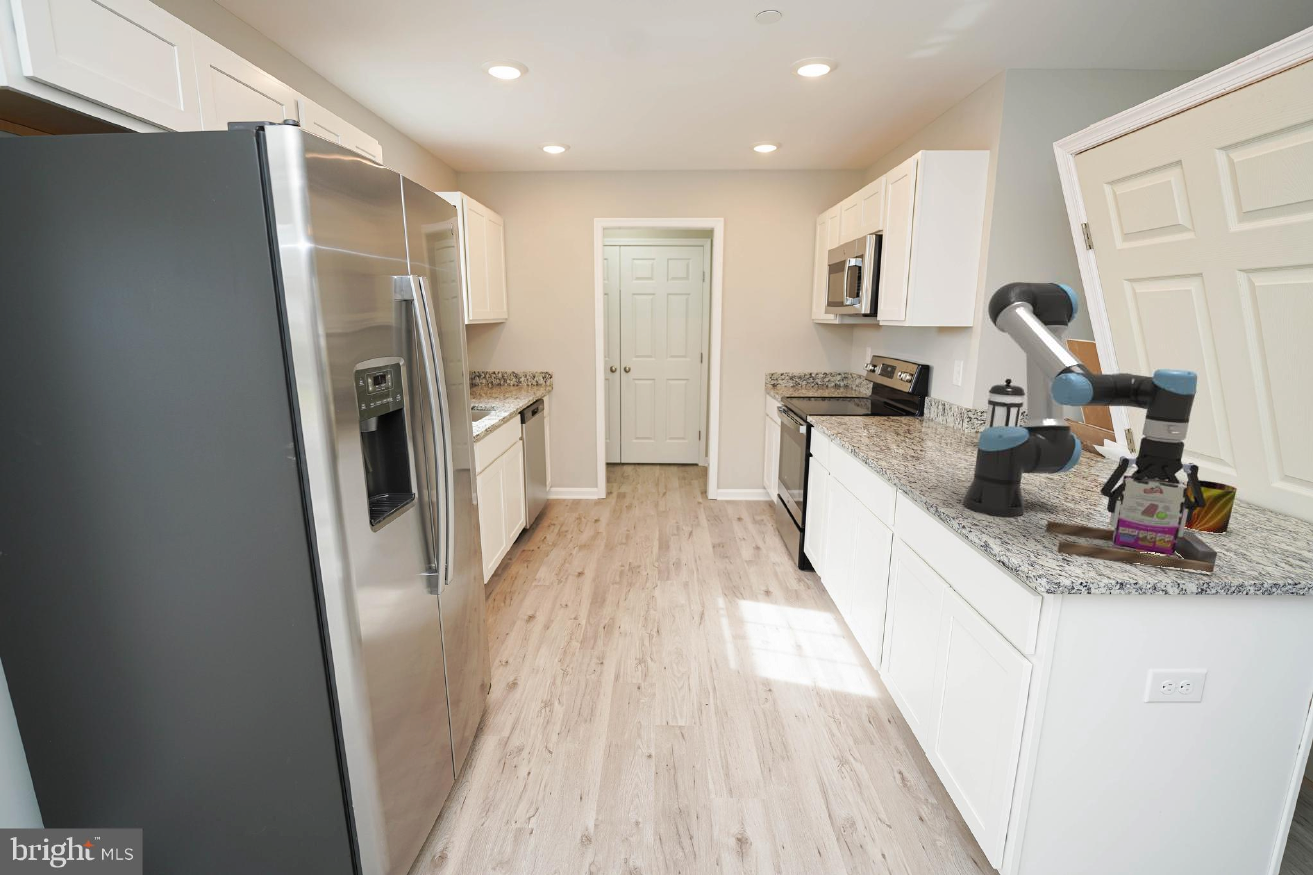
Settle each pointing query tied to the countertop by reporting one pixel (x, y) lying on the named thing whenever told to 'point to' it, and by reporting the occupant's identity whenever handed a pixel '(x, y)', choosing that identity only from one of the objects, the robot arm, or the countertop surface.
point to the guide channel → (1187, 546)
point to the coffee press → (1004, 405)
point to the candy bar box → (1149, 515)
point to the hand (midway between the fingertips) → (1144, 530)
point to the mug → (1212, 507)
